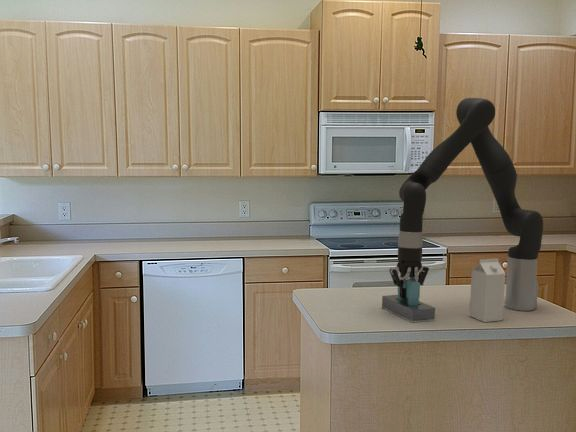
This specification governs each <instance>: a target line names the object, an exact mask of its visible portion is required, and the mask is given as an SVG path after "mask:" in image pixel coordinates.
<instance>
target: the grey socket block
mask: <svg viewBox="0 0 576 432" xmlns="http://www.w3.org/2000/svg"><path fill="white" fill-rule="evenodd" d="M381 298H382V299H381V308H382V309H384V310H386V311H388V312H390V313H392V314H394V315H396V316H397V317H400V318H402V319H403V320H405V321H408V322H409V323H412V324H415V323H425V322H426V323H427V322H432V321H433V322H435V320H436V317H435V316H436V307H434V306H432V305H429V304H427V303H425V302H423V301H420V300H419V305H413V306H409V305H408V300H406V301H398V294H390V295H382V297H381Z"/></svg>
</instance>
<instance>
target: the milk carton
mask: <svg viewBox="0 0 576 432" xmlns="http://www.w3.org/2000/svg"><path fill="white" fill-rule="evenodd" d="M470 278H471V279H470V297H469V298H470V299H469V317H471V318H473V319H476V320H477V321H478V320H479V321H481V322H483V323H488V322H489V323H490V322H498V321H503V317H504V305H505V289H506V272H505V270H504V269H503V267H502V265H501V263H500V262H499V258H484V259H483V258H482V259H481V258H480V259H479V263H478V264H476V266H474V267H473V268H472V269H471V277H470Z"/></svg>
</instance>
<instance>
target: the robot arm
mask: <svg viewBox="0 0 576 432" xmlns="http://www.w3.org/2000/svg"><path fill="white" fill-rule="evenodd" d="M455 114H456V119H457V121H458V123H459V126H458V127H457V129H455V130H454V132H452V133H451V134H450V135H449V136H448V137H447V138H446V139H445V140H443V141H441V143H439V144H438V145H436V147H434V148H433V149H432V150H431V152H430V153H429V154H428V155H427V156H426V157H425V159H424V160H423V161H422V162H421V164H420V165H419V166H418V168H417V169H416V170H415V171H414V172H412V174H410V176H409V177H408V178H407V179H406V180H405V181H403V183H402V184H401V186H400V187H399V191H398V194H399V198H400V200H401V201H402V202H403V208H402V213H401V215H400V216H399V217H400V218H399V233H398V240H397V241H398V242H397V243H398V244H397V264H396V266H395V267H393V268H389V270H388V271H389V274H390V277H391V279H392V282H393V284H394V285H395V286H396V287H398V286H399V287H400V297H401V299H403V300H405V299H406V285H407V281H408V280H409V279H411V280H414V281H417V282H419V283H420V286H422V285H424V283H425V280H426V278H427V275H428V274H429V273H428V272H429V270H430V267H427V266H424V265H423V263H422V258H423V242H424V241H423V218H424V217H423V216H424V213H425V207H426V203H427V202H426V201H427V191H426V190H427V189H428V188H429V187H430V185H432V184H434V183H436V182H437V181H439V178H440V177H441V176H442V175H443V174H444V173H445V171H446V170H447V169H448V167H449V166H450V165H451V164H452V162H453V161H454V160H455V159H456V158H457V157H458V156H459V155H460V154H461V153H462V152H463V151H464V149H466V148H467V147H468V145H470V144H471V146H472V149H473V150H474V153H475V156H476V159H477V160H478V162H479V164H480V167H481V171H482V172H483V175H484V177H485V178H486V181H487V183H488V185H489V187H490V189H491V192H492V194H493V196H494V198H495V201H496V203H497V207H498V210H499V213H500V216H501V220H502V223H503V226H504V227H505V229H506V231H507V233H509V234H510V235H512V236H514V237H519V241H518V244H517V245H515V246H511V247H509V248H508V252H507V266H506V267H507V269H506V270H507V271H506V280H505V297H504V306H505V307H506V308H508V309H509V310H515V311H521V312H522V311H523V312H524V311H525V312H530V311H534V310H536V309H537V308H538V306H537V305H538V294H539V293H538V292H539V280H537V273H538V272H537V271H538V260H539V259H538V257H539V253H540V251H541V248H542V242H543V241H542V240H543V232H544V219H543V216H542V214H541V213H540V212H539V211H536V210H532V209H531V210H529V209H523V208H522V207H521V206H520V205H519V202H518V201H517V197H516V193H515V191H516V185H517V179H518V173H517V171H516V169H515V166H514V164H513V161H512V159H511V156H510V155H509V153H508V151H506V149H505V148H504V147H503V146H502V144H501V143H500V142H499V141H498V140H497V139H496V138H495V136H494V135H493V133H492V131H491V130H490V128H489V126H490V125H491V124H492V122H493V121H494V119H495V116H496V107H495V104H494V103H493V102H492V101H491V100H489V99H486V98H479V97H467V98H464V99H462V100H461V101H459V103H458V105H457V106H456V112H455Z"/></svg>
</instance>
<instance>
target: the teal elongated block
mask: <svg viewBox="0 0 576 432" xmlns="http://www.w3.org/2000/svg"><path fill="white" fill-rule="evenodd" d="M420 291H421V285H420V283H419V282H417V281H414V280H411V279H410V278H409V280H408V281H407V285H406V299H405V300H403V299H401V297H400V287H399V286H397V295H398V301H406V300H408V305H409V306H413V305H419V301H420V297H421V295H420V294H421V293H420Z"/></svg>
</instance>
